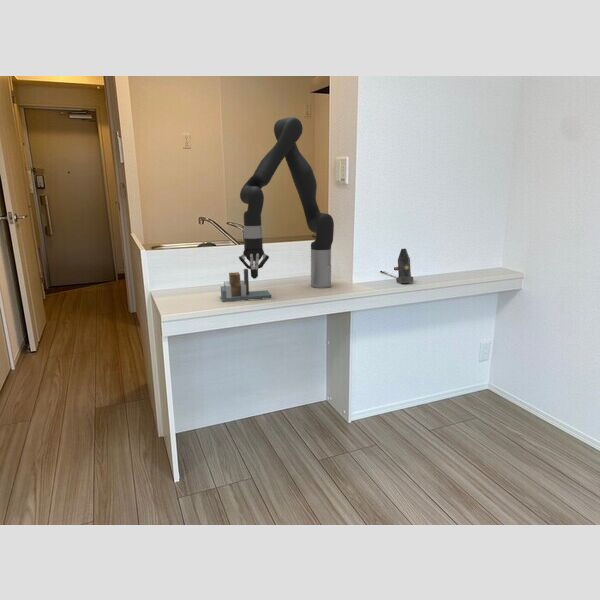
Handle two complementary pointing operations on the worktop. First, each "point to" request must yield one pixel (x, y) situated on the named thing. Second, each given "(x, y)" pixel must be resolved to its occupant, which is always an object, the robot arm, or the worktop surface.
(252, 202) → the robot arm
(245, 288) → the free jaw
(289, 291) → the worktop surface
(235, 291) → the block
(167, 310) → the worktop surface
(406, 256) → the dark tapered tower
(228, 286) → the vise
